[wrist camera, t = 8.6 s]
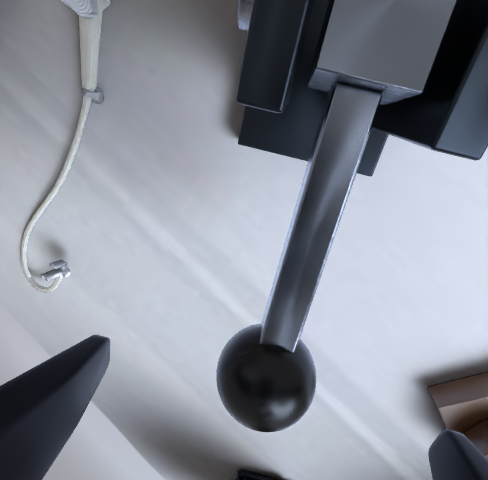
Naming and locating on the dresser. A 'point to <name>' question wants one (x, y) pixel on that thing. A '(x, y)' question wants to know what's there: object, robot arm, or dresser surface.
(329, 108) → the lever
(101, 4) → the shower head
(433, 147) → the bracket
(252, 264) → the dresser surface
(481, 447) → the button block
